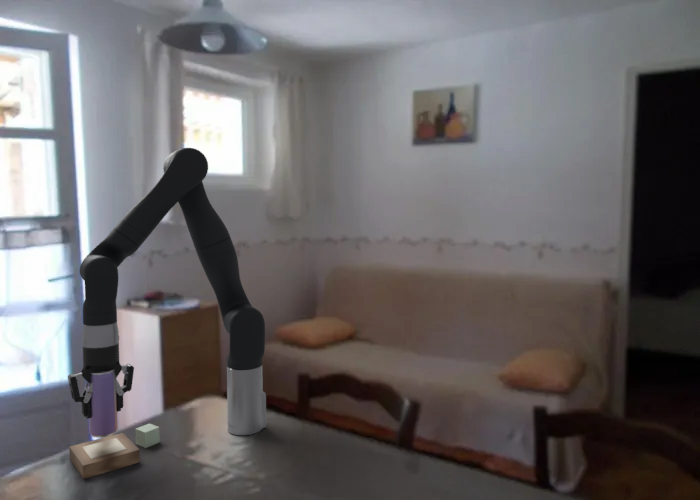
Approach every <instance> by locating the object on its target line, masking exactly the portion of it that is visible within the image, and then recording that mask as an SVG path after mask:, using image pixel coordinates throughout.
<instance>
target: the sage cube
mask: <svg viewBox="0 0 700 500" xmlns="http://www.w3.org/2000/svg"><path fill="white" fill-rule="evenodd" d="M134 430H135V432H134V433H135V445H137V446H138V447H139V446H140V447H141V448H144V449H147V448H149V447H152V446H154V445H157V444H159V443H160V442H161V440H160V426H157V425H155V424H152V423H147V424H144V425H141V426H139V427H136V428H135V429H134Z"/></svg>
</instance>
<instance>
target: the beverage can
mask: <svg viewBox="0 0 700 500" xmlns="http://www.w3.org/2000/svg"><path fill="white" fill-rule="evenodd" d="M116 379H117V378H116V372H115V369H113V370H108V371H103V372H96V373H91V377H90V383H88V388H89V387H90V385H91V383H92V382H93V393H91V398H90V400H89V402H90V406H91V418H88V430H89V431H88V432H89V434H90V436H91V437H93V438H95V439H101V438H105V437H108V436H112V435H115V434H116V433H117V431H118V429H119V428H118V427H119V426H118V425H119V423H118V412H117V391H116Z"/></svg>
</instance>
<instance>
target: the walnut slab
mask: <svg viewBox="0 0 700 500" xmlns="http://www.w3.org/2000/svg"><path fill="white" fill-rule="evenodd" d="M68 450H69V451H68V452H69V460H70V462H71V463H72V464H73V466H74V467H75V469H76V470H77V472H78V474H79V475H80V476H81V478H82V479H83V480H85V479H86V480H87V479H89V478H92V477H95V476H99V475H102V474H105V473H108V472H112V471H115V470H118V469H119V470H120V469H122V468H126V467H129V466H132V465H135V464H138V463H140V462H141V455H140V454H141V453H140V449H139V448H138V446H136V444H134V443H133V442H132V440H131V439H129V437H127V435H126V434H125V433H123V432H121V433H117V434H116V433H115V434H112V435H110V436H107V437H102V438H96V439H94V440H89V441H86V442H82V443H79V444H75V445H70V446H69V449H68Z"/></svg>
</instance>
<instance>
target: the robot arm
mask: <svg viewBox="0 0 700 500" xmlns="http://www.w3.org/2000/svg"><path fill="white" fill-rule="evenodd" d="M208 171H209V162H208V159H207V157H206V156H205V155H204V153H203V152H202V151H200V150H199V149H197V148H193V147H183V148H180V149H177V150H175V151H173V152H171V153H170V154H168V155H167V156H166V158H165V160H164V162H163V175H162V176H161V177H160V179H159V180H158V181H157V182H156V184H155V185H154V186H153V187H152V188H151V190H150V191H149V192H148V193H147V194H146V195H145V196H143V198H141V199H140V200H139V201H138V202H137V203H136V204H135V205H134V206H133V207H132V208H131V209H130V210H129V211H127V213H126V214H125V215H124V216H123V217H122V218H121V219H120V220H119V221H118V222H117V224H116V225H115V226H114V227H113V228H112V230H111V231H110V232H109V233H108V235H107V236H106V237H105V238H104V239H103V240H102V241H101V242H99V243H98V245H96V246H95V247H94V248H93V249H92V250H91V251H90V252H89V253H88V254H87V255H86V256H85V258H84V259H83V260H82V262H81V263H80V266H79V275H80V277H81V279H82V280H83V282H84V298H85V299H84V300H83V304H82V331H81V334H82V335H81V336H82V337H81V338H82V341H81V342H82V369H81V371H80V372H78V373H75V374H73V373H70V374H68V375H67V380H68V386H69V390H70V396H71V399H73V401H74V402H75V403H81V413H82V416H83V417H85V418H86V420H87V419H88V420H89V418H91V406H90V402H89V400H90V398H91V393H93V382H92V383H91V385H90V387H89V388H88V383H90V377H91V373H96V372H103V371H108V370H113V369H115V372H116V391H117V413H118V412H121V411H122V409H123V408H124V395H125V393H127V392H131V391H132V387H133V378H134V370H135V366H133V365H132V364H130V363H127V364H124V365H123V364H122V365H121V363H120V335H119V334H120V333H119V332H120V331H119V327H118V310H117V309H118V308H117V307H118V306H117V297H118V290H119V289H118V288H119V269H118V268H119V266H120V265H122V263H123V262H124V261H125V260H126V258H128V257H130V256H132V255H134V254H135V253H136V252H137V251H138V249H140V247H142V244H143V243H145V241H146V240H147V239H148V238H149V236H151V234H152V233H153V231H154V230H155V229H156V227H157V226H158V225H159V224H160V222H161V221H162V220H163V219H164V218H165V217H166V216H167V214H168V213H169V212H170V211H171V210H172V209H173V208H174V206H175V205H176V204H177V203H178V204H179V207H180V209H181V211H182V213H183V216H184V220H185V224H186V227H187V229H188V233H189V235H190V237H191V240H192V243H193V246H194V249H195V251H196V254H197V257H198V260H199V262H200V264H201V266H202V268H203V271H204V273H205V275H206V278H207V280H208V281H209V284H210V286H211V288H212V289H213V291H214V294H215V297H216V300H217V303H218V308H219V311H220V315H221V318H222V322H223V326H224V328H225V331H226V332H227V334H229V353H228V355H227V356H226V389H227V391H226V397H227V398H226V399H227V401H226V402H227V405H226V406H227V431H228V433H230V434H231V435H235V436H250V435H253V434H257V433H259V432H261V430H263V429H264V428H266V427H267V394H266V392H265V391H264V390H263V389H264V388H263V386H264V385H263V384H264V381H263V378H264V377H263V359H264V356H265V352H266V351H265V348H266V346H265V345H266V321H265V318H264V315H263V314H262V313H261V311H260V310H259V309H257V308H255V307H254V306H252V304H251V302H250V301H249V298H248V296H247V294H246V292H245V289H244V287H243V285H242V281H241V277H240V268H239V261H238V260H239V259H238V254H237V251H236V248H235V245H234V243H233V240H232V238H231V235H230V232H229V231H228V228H227V227H226V225H225V223H224V222H223V220H222V218H221V217H220V215H219V214H218V213H217V211H216V210H215V208H214V206H213V205H212V204H211V202H210V200H209V198H208V195H207V193H206V189H205V185H204V183H203V181H204V179H206V177H207V174H208ZM121 372H122V374H123V375H124V377H123V383H122V386H121V384H120V383H119V381H118V380H117V377H118V376H119V374H120V373H121ZM82 378H83V379H84V380H85V381H86V382H85V384H84V387H83V391H82V393H81V394H80V389H79V384H80V383H81V379H82Z"/></svg>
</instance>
